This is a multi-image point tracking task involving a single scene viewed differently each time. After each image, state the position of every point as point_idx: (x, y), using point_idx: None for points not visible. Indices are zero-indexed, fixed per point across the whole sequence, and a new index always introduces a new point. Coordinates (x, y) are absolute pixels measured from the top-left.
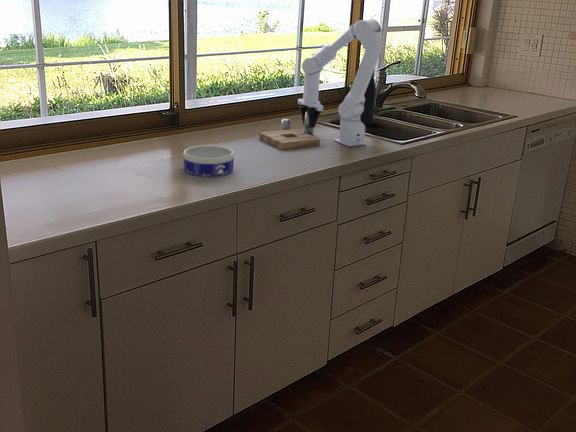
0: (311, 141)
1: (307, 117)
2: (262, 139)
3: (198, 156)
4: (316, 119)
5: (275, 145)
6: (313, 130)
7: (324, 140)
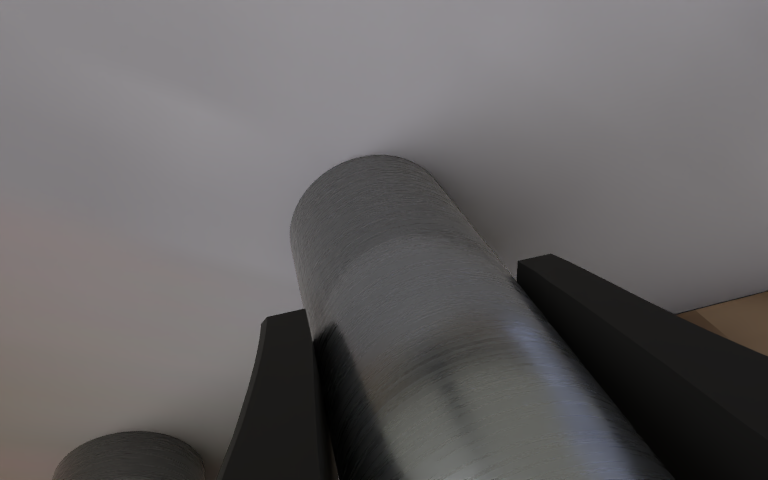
0: None
1: None
2: None
3: None
4: (732, 367)
5: None
6: (458, 211)
7: (739, 116)
